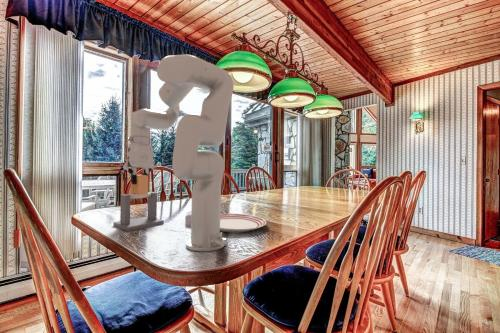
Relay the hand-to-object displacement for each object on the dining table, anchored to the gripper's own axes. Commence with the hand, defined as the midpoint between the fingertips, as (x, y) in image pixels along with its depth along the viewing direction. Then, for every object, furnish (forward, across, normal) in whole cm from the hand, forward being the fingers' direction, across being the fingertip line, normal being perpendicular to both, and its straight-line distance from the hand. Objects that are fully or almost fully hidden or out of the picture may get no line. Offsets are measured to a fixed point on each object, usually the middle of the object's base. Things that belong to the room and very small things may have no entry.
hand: (139, 183), depth 108 cm
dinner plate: (+18, +26, -32) cm, 45 cm away
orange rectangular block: (+4, 0, 0) cm, 4 cm away
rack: (+18, 0, 0) cm, 18 cm away
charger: (+18, +21, -13) cm, 31 cm away
